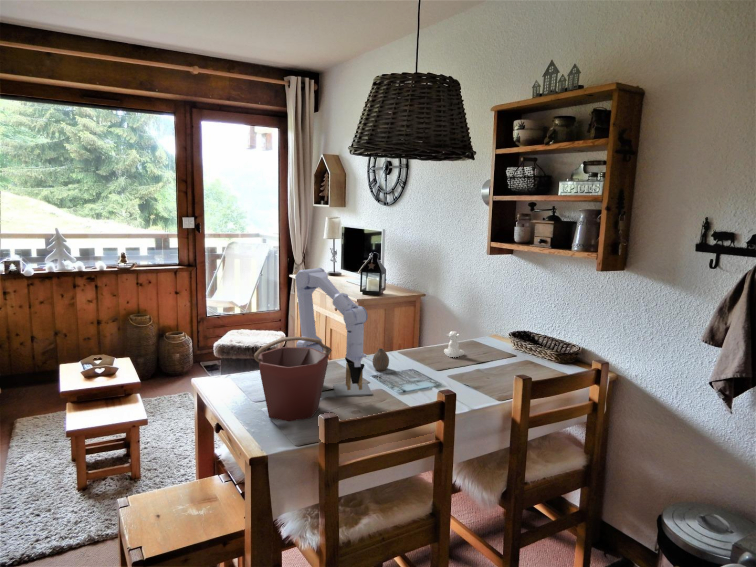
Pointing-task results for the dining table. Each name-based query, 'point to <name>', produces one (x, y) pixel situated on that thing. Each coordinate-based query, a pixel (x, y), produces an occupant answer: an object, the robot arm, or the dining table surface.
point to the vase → (380, 360)
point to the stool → (348, 379)
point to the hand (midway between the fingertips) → (353, 380)
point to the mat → (343, 392)
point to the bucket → (292, 378)
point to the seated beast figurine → (453, 345)
